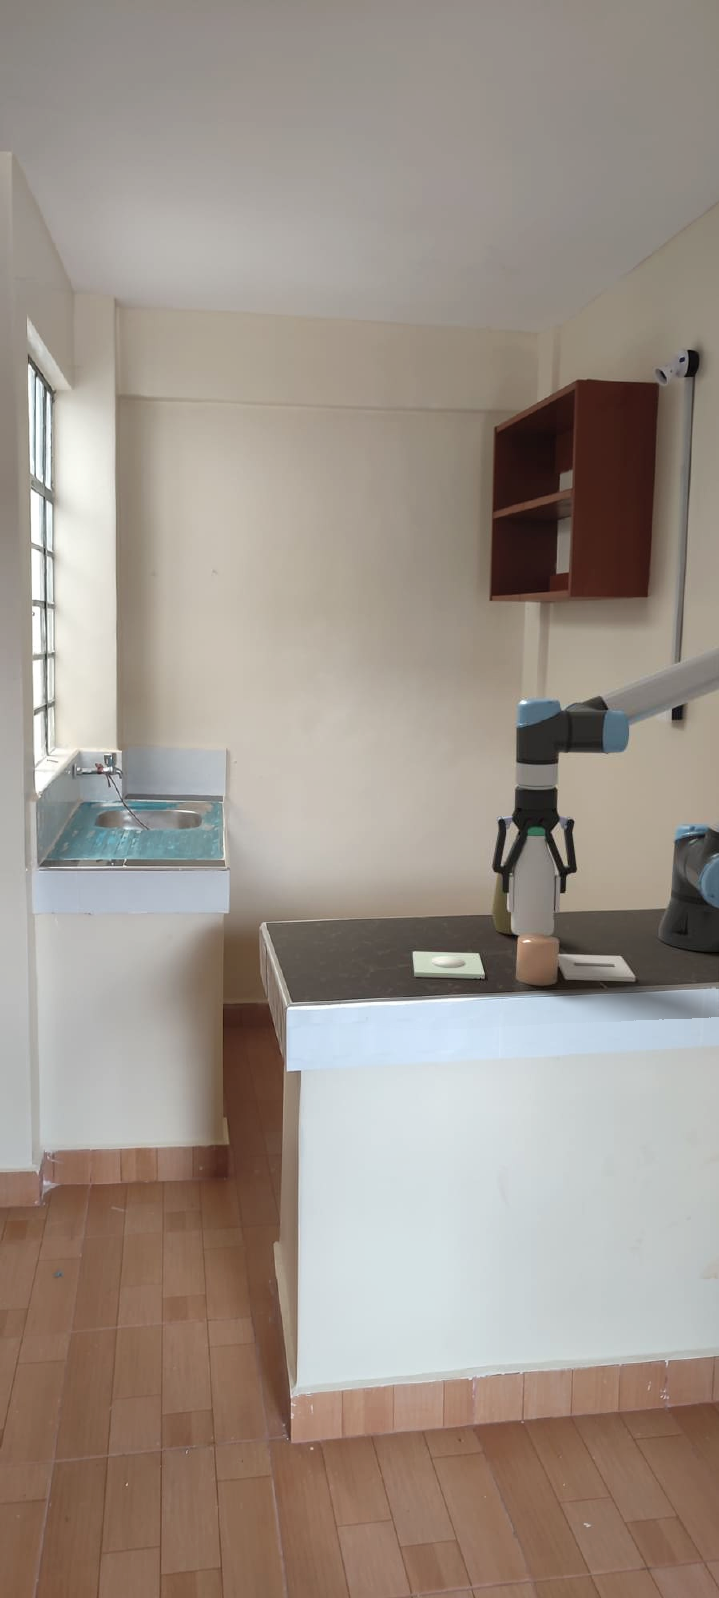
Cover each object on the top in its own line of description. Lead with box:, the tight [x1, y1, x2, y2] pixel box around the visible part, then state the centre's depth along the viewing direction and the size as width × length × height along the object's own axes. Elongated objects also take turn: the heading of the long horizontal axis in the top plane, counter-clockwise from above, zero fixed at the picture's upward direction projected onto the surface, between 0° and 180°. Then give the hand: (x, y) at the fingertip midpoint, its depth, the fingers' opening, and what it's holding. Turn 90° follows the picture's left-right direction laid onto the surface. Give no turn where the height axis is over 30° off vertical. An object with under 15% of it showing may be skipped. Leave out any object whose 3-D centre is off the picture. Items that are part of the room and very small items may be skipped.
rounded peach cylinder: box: [515, 934, 560, 986], centre depth 195 cm, size 7×7×7 cm
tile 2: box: [558, 953, 636, 982], centre depth 201 cm, size 12×12×1 cm
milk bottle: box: [511, 826, 556, 937], centre depth 205 cm, size 8×8×20 cm
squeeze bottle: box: [491, 841, 517, 936], centre depth 223 cm, size 8×8×18 cm
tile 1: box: [412, 950, 486, 980], centre depth 201 cm, size 12×12×1 cm
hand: (533, 910), depth 206 cm, fingers closed on milk bottle, 8 cm apart
